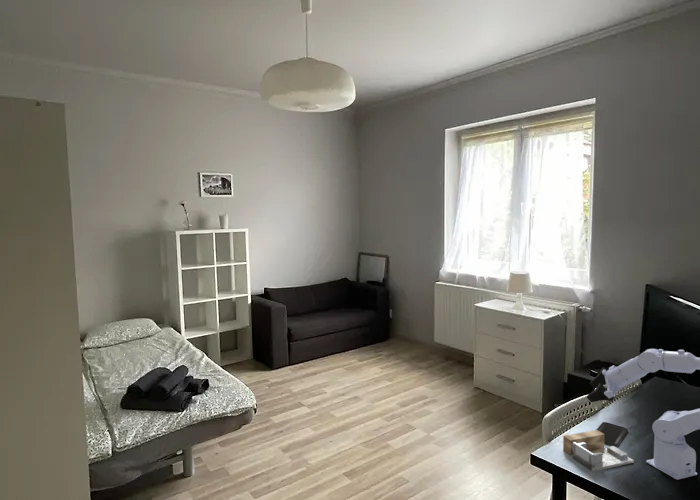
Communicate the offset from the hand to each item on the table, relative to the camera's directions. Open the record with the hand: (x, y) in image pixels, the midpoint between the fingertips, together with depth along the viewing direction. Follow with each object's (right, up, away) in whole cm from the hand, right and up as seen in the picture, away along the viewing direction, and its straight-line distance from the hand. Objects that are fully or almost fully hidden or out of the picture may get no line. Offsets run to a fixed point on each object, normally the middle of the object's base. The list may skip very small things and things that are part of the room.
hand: (590, 392), depth 143 cm
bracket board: (-2, -17, -11) cm, 20 cm away
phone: (+8, -16, +3) cm, 18 cm away
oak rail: (-5, -17, -6) cm, 18 cm away
